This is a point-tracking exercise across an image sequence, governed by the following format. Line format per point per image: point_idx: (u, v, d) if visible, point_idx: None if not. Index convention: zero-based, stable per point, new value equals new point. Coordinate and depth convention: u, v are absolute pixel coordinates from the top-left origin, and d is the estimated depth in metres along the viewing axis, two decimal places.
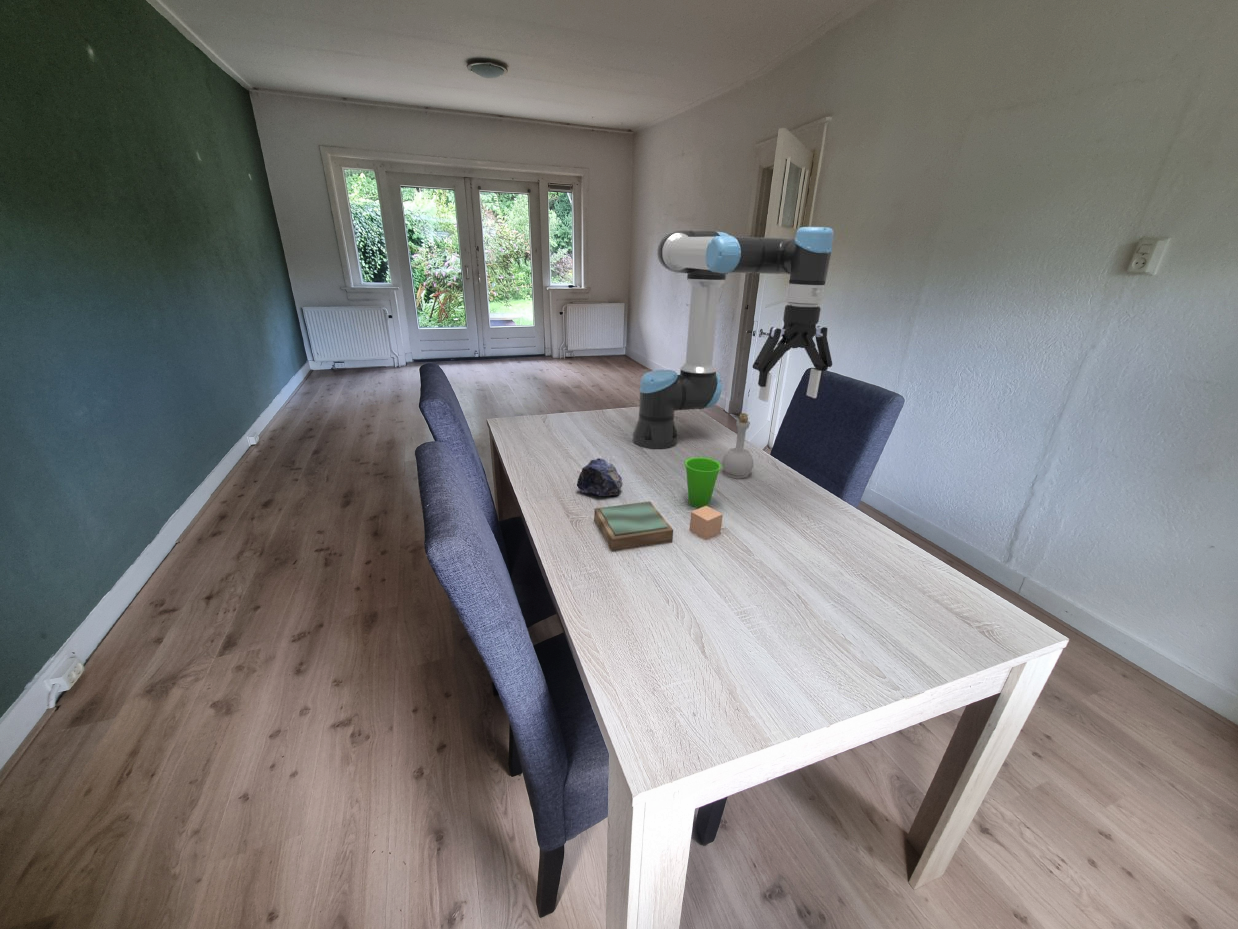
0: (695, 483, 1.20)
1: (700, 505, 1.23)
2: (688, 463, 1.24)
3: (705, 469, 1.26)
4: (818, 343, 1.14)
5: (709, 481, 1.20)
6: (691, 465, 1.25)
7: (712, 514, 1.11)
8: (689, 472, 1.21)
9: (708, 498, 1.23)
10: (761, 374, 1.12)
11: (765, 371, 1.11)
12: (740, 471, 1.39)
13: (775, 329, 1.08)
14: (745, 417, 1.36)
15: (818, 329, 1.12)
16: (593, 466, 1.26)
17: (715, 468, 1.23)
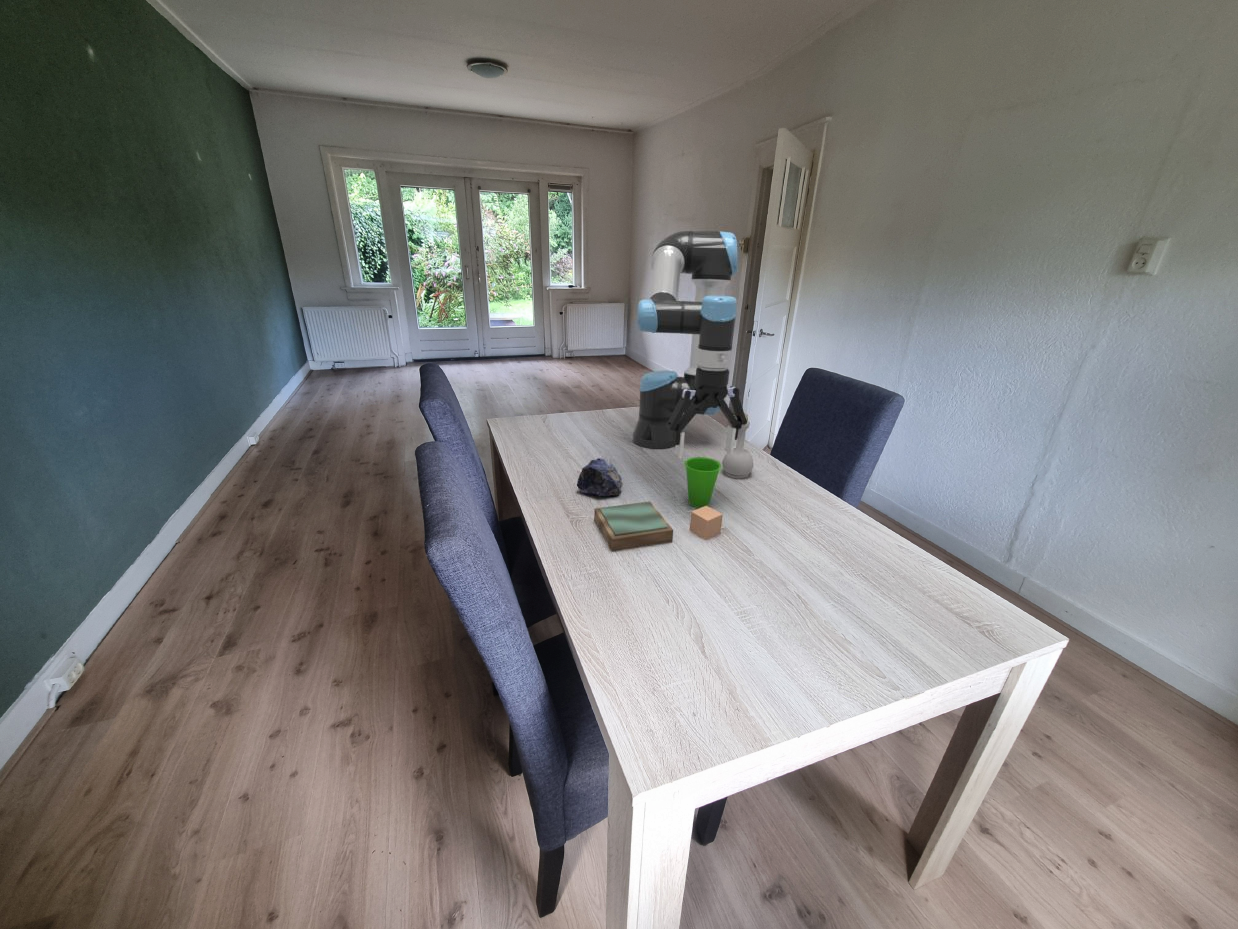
0: (695, 483, 1.20)
1: (700, 505, 1.23)
2: (688, 463, 1.24)
3: (705, 469, 1.26)
4: (732, 402, 1.18)
5: (709, 481, 1.20)
6: (691, 465, 1.25)
7: (712, 514, 1.11)
8: (689, 472, 1.21)
9: (708, 498, 1.23)
10: (674, 433, 1.15)
11: (677, 430, 1.14)
12: (740, 471, 1.39)
13: (685, 391, 1.12)
14: None
15: (730, 390, 1.15)
16: (593, 466, 1.26)
17: (715, 468, 1.23)
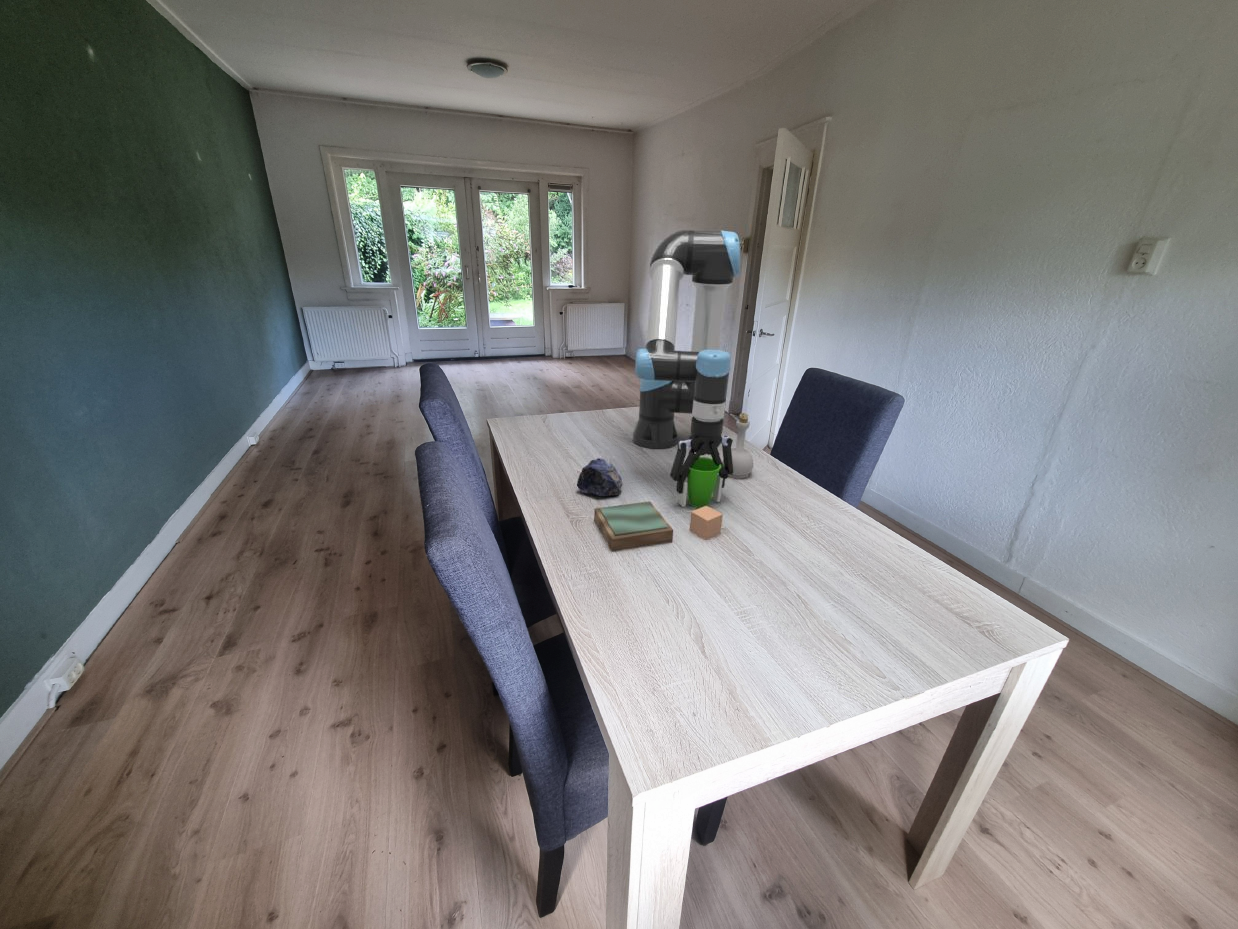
0: (695, 483, 1.20)
1: (700, 505, 1.23)
2: None
3: (705, 469, 1.26)
4: (723, 451, 1.23)
5: (709, 481, 1.20)
6: None
7: (712, 514, 1.11)
8: None
9: (708, 498, 1.23)
10: (678, 482, 1.21)
11: (681, 481, 1.20)
12: (740, 471, 1.39)
13: (680, 444, 1.17)
14: (745, 417, 1.36)
15: (724, 439, 1.20)
16: (593, 466, 1.26)
17: (715, 468, 1.23)
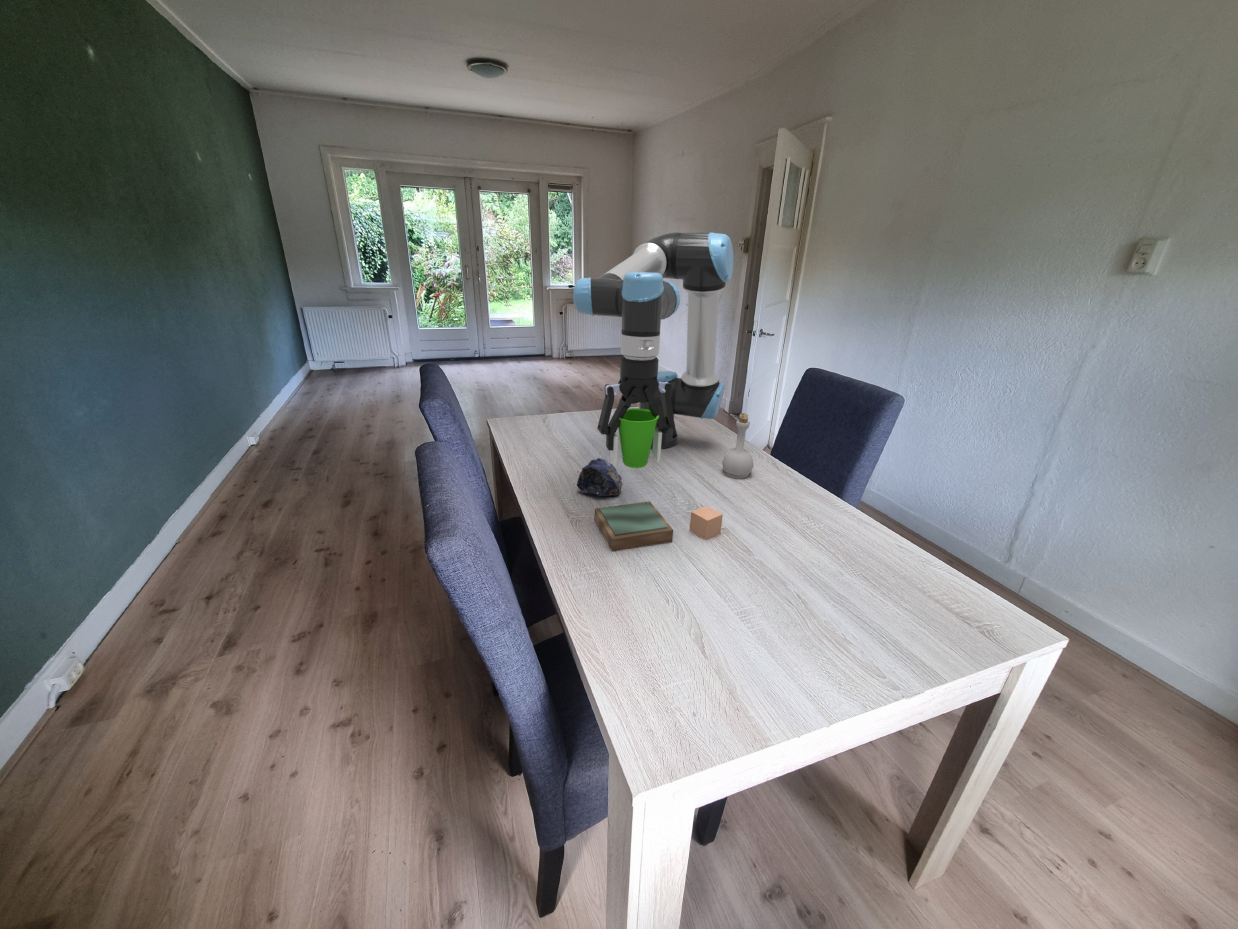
0: (627, 437, 1.01)
1: (635, 464, 1.03)
2: None
3: None
4: (662, 400, 1.03)
5: (643, 434, 1.00)
6: (625, 418, 1.05)
7: (712, 514, 1.11)
8: (619, 425, 1.01)
9: (644, 456, 1.03)
10: (607, 437, 1.01)
11: (610, 435, 1.00)
12: (740, 471, 1.39)
13: (607, 388, 0.97)
14: (745, 417, 1.36)
15: (662, 384, 1.00)
16: (593, 466, 1.26)
17: None
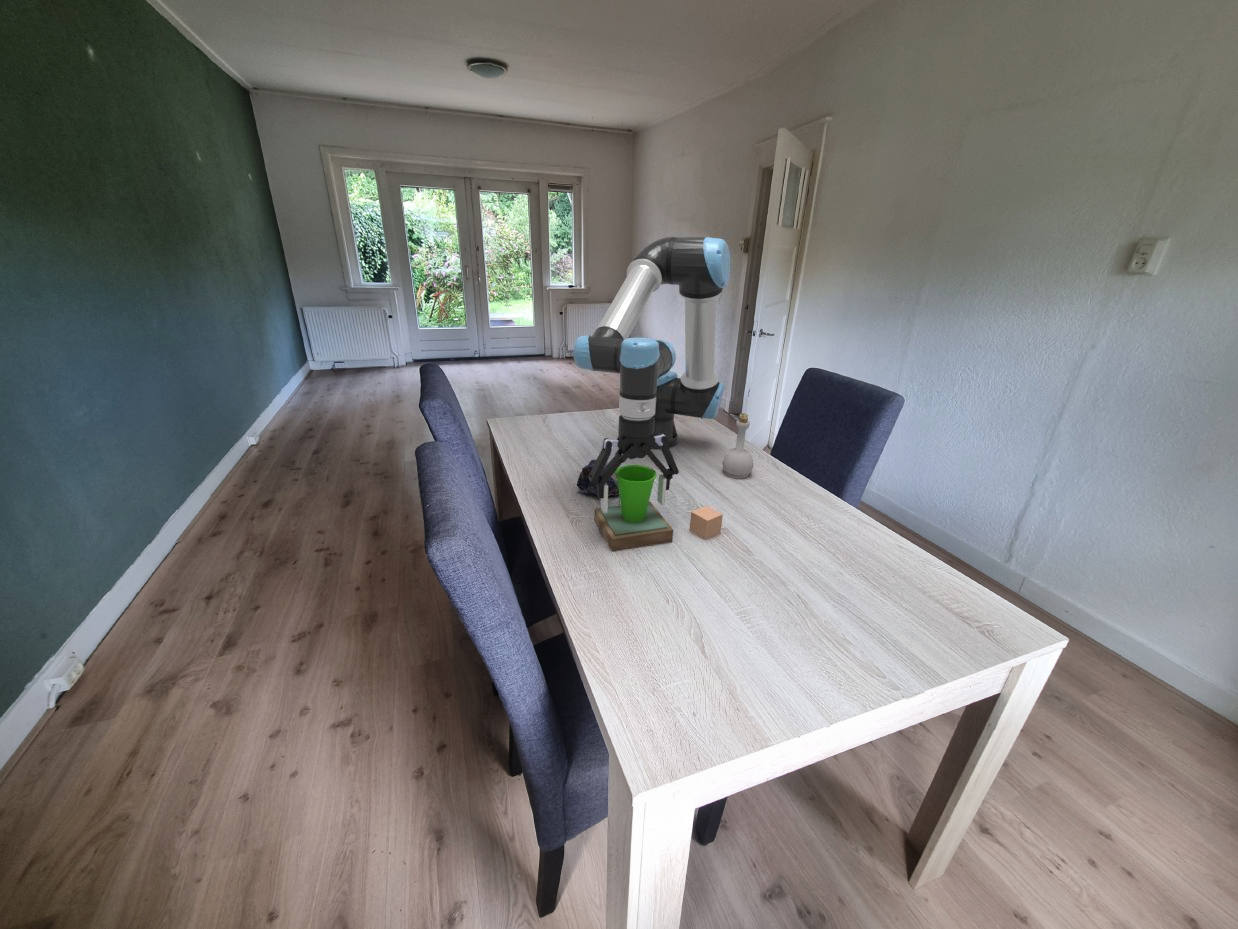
0: (625, 495, 1.06)
1: (633, 519, 1.09)
2: (620, 472, 1.09)
3: (641, 478, 1.11)
4: (662, 450, 1.08)
5: (641, 493, 1.05)
6: (625, 474, 1.10)
7: (712, 514, 1.11)
8: (619, 483, 1.06)
9: (642, 512, 1.08)
10: (597, 486, 1.05)
11: (600, 484, 1.04)
12: (740, 471, 1.39)
13: (606, 442, 1.01)
14: (745, 417, 1.36)
15: (658, 438, 1.05)
16: None
17: (651, 478, 1.09)
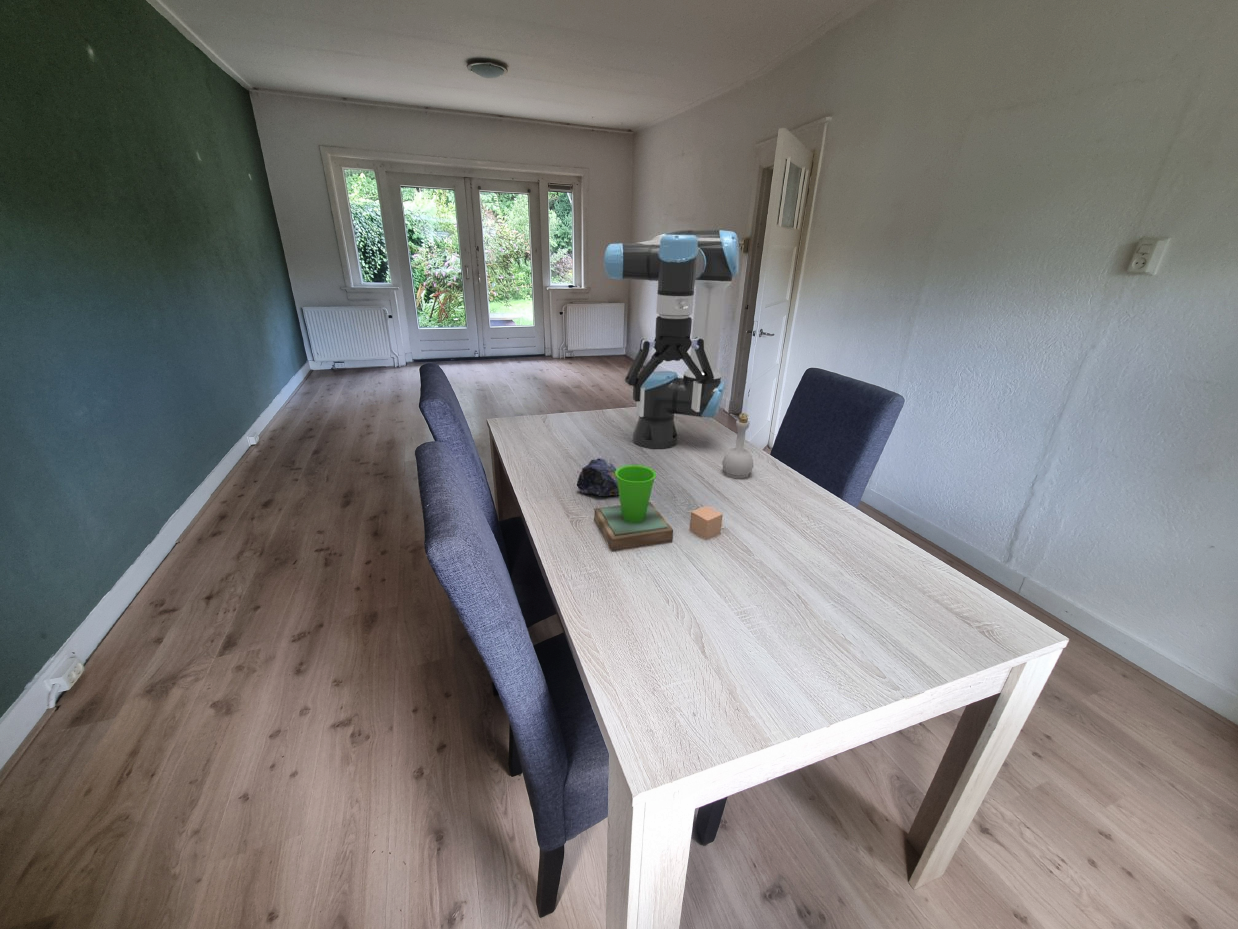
0: (625, 495, 1.06)
1: (633, 519, 1.09)
2: (620, 472, 1.09)
3: (641, 478, 1.11)
4: (697, 355, 1.09)
5: (641, 493, 1.05)
6: (624, 474, 1.10)
7: (712, 514, 1.11)
8: (618, 483, 1.06)
9: (642, 512, 1.08)
10: (634, 388, 1.07)
11: (637, 385, 1.06)
12: (740, 471, 1.39)
13: (644, 342, 1.03)
14: (745, 417, 1.36)
15: (694, 341, 1.06)
16: (593, 466, 1.26)
17: (650, 478, 1.09)
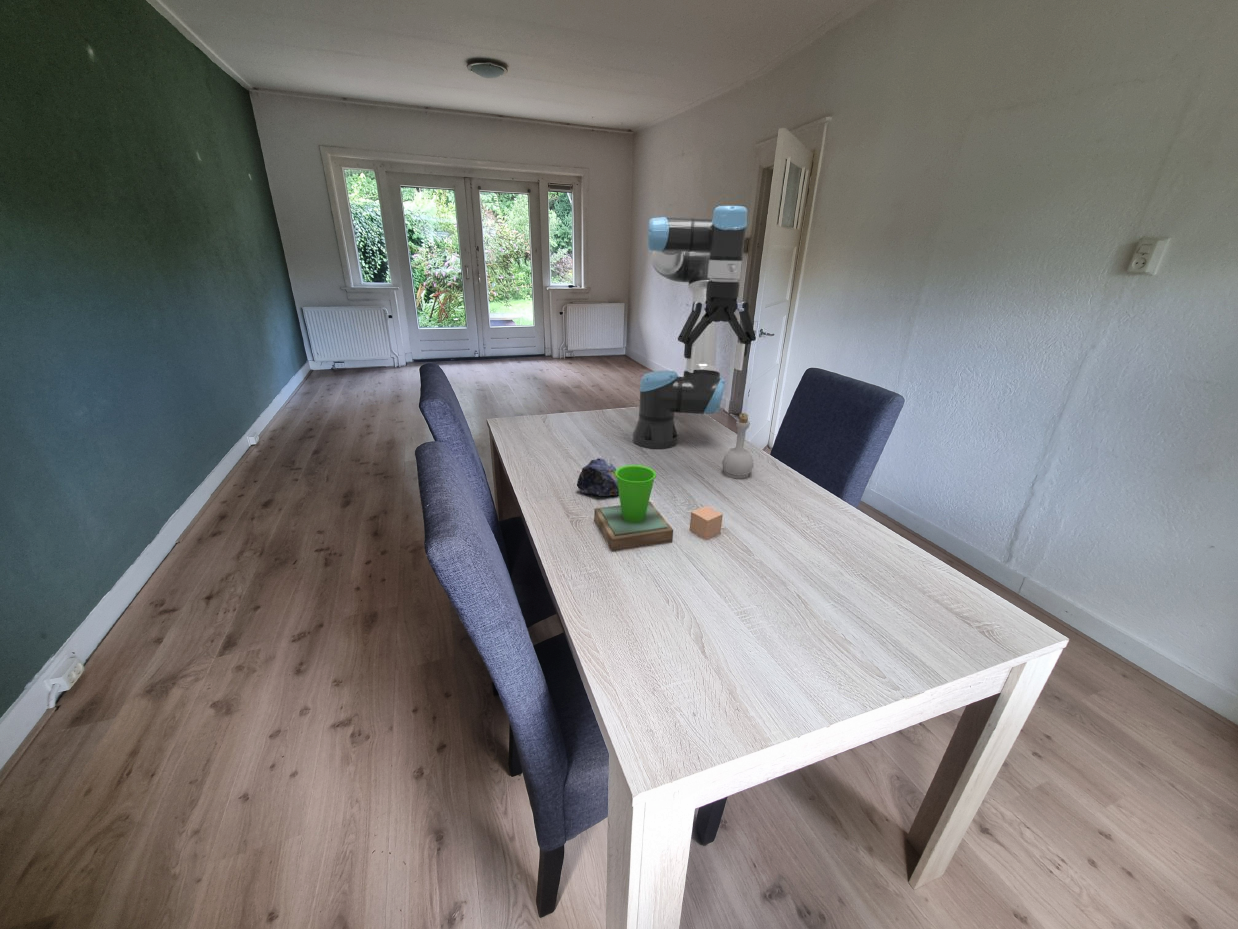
0: (625, 495, 1.06)
1: (633, 519, 1.09)
2: (620, 472, 1.09)
3: (641, 478, 1.11)
4: (741, 318, 1.21)
5: (641, 493, 1.05)
6: (624, 474, 1.10)
7: (712, 514, 1.11)
8: (618, 483, 1.06)
9: (642, 512, 1.08)
10: (686, 346, 1.19)
11: (689, 343, 1.18)
12: (740, 471, 1.39)
13: (696, 303, 1.15)
14: (745, 417, 1.36)
15: (740, 304, 1.19)
16: (593, 466, 1.26)
17: (650, 478, 1.09)
